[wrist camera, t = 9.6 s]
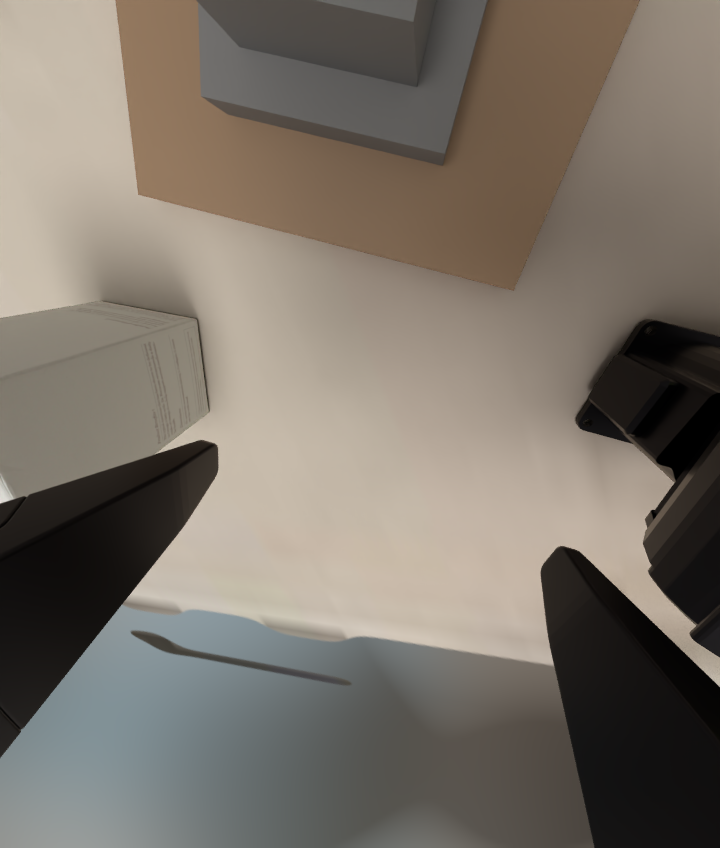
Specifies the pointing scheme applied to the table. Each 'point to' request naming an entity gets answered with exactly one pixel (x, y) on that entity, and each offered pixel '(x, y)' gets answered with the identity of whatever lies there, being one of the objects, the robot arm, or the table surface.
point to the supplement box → (92, 391)
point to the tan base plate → (370, 117)
